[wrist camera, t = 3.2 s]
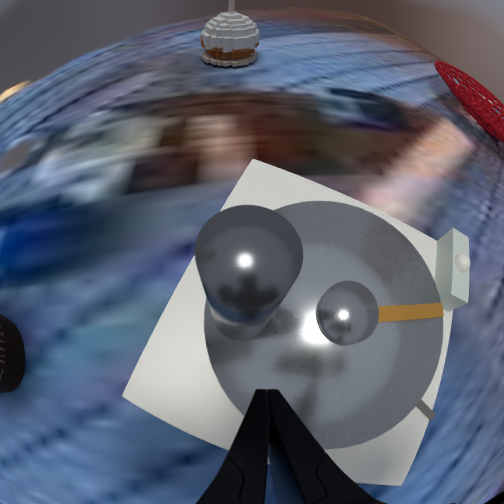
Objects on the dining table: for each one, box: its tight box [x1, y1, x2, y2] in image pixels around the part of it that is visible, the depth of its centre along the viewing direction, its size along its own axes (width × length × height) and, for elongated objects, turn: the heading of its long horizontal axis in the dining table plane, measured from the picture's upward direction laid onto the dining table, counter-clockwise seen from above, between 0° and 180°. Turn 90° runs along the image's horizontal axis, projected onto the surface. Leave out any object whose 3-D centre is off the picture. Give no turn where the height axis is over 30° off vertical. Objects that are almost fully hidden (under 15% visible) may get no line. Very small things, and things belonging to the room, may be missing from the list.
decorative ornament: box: [200, 0, 260, 67], centre depth 26 cm, size 8×8×15 cm
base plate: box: [122, 159, 470, 486], centre depth 15 cm, size 20×20×4 cm
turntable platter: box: [195, 201, 444, 449], centre depth 12 cm, size 16×16×10 cm
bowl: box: [434, 61, 504, 143], centre depth 34 cm, size 29×30×5 cm
